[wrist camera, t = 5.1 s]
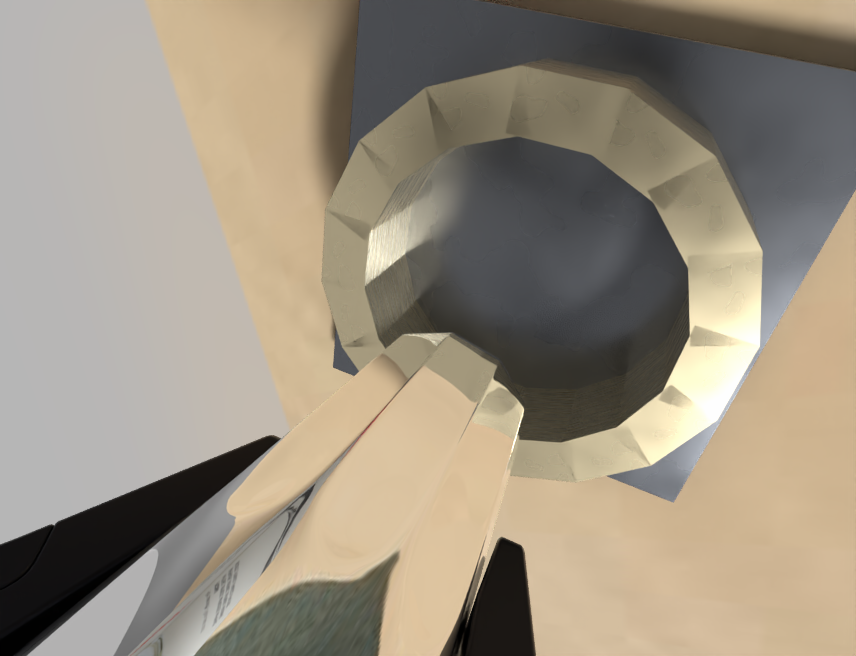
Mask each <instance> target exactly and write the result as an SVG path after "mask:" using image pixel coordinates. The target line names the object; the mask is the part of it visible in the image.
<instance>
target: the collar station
mask: <svg viewBox="0 0 856 656" xmlns="http://www.w3.org/2000/svg"><path fill="white" fill-rule="evenodd" d="M855 190H856V71H855V70H849V69H844V68H839V67H833V66H828V65H823V64H818V63H812V62H807V61H802V60H796V59H791V58H786V57H780V56H775V55H770V54H765V53H759V52H754V51H749V50H743V49H738V48H733V47H727V46H722V45H717V44H711V43H706V42H701V41H696V40H690V39H685V38H680V37H674V36H669V35H664V34H658V33H653V32H648V31H643V30H637V29H632V28H627V27H621V26H616V25H611V24H605V23H600V22H595V21H590V20H584V19H579V18H574V17H568V16H563V15H558V14H552V13H547V12H542V11H537V10H531V9H526V8H521V7H515V6H510V5H505V4H499V3H494V2H489V1H483V0H360V7H359V20H358V34H357V48H356V61H355V75H354V89H353V102H352V116H351V130H350V143H349V157H348V164H347V166H346V168H345V170H344V172H343V174H342V176H341V179H340V181H339V183H338V185H337V187H336V189H335V191H334V193H333V195H332V197H331V199H330V201H329V203H328V205H327V207H326V209H325V226H324V245H323V264H322V284H323V287H324V290H325V293H326V297H327V300H328V303H329V306H330V310H331V313H332V316H333V319H334V322H335V326H336V335H335V349H334V362H333V368H336V369H338V370H341V371H343V372H346V373H348V374H351V375H353V376H355V375H356V374H357V373H358V372H359V371H361V370H362V369H363V368H364V367H365V366H366V365H368V364H369V363H370V362H371V361H372V360H373V359H374V358H376V357H377V356H378V355H379V354H380V353H381V352H383V351H384V350H385V349H386V348H387V347H388V346H390V345H391V344H392V343H393V342H394V341H395V340H397V339H398V338H399V337H400V336H402V335H403V334H407V333H439V332H454V333H456V334H457V335H459V336H461V337H462V338H464V339H466V340H468V341H469V342H471V343H473V344H474V345H476V346H478V347H480V348H481V349H483V350H485V351H487V352H488V353H490V354H492V355H494V356H495V357H497V358H499V359H500V360H501V361H502V363H503V365H504V367H505V369H506V371H507V372H508V374H509V376H510V378H511V380H512V381H513V383H514V385H515V387H516V389H517V390H518V392H519V394H520V396H521V398H522V399H523V401H524V403H525V410H524V415H523V420H522V425H521V430H520V436H519V441H518V447H517V451H516V455H515V459H514V462H513V466H512V469H511V472H510V476H518V477H528V478H537V479H547V480H556V481H566V482H581V481H585V480H590V479H594V478H599V477H603V476H608V477H610V478H613V479H615V480H618V481H620V482H623V483H625V484H628V485H630V486H633V487H635V488H638V489H640V490H643V491H646V492H648V493H651V494H653V495H656V496H658V497H661V498H663V499H666V500H668V501H671V502H673V503H674V501H675V499H676V497H677V496H678V494H679V492H680V491H681V489H682V487H683V485H684V484H685V482H686V480H687V479H688V477H689V475H690V473H691V472H692V470H693V468H694V466H695V465H696V463H697V461H698V460H699V458H700V456H701V454H702V453H703V451H704V449H705V448H706V446H707V444H708V442H709V441H710V439H711V437H712V436H713V434H714V432H715V430H716V429H717V427H718V425H719V424H720V422H721V420H722V418H723V417H724V415H725V413H726V411H727V410H728V408H729V406H730V405H731V403H732V401H733V399H734V398H735V396H736V394H737V393H738V391H739V389H740V387H741V386H742V384H743V382H744V381H745V379H746V377H747V375H748V374H749V372H750V370H751V369H752V367H753V365H754V363H755V362H756V360H757V358H758V357H759V355H760V353H761V351H762V350H763V348H764V346H765V344H766V343H767V341H768V339H769V338H770V336H771V334H772V332H773V331H774V329H775V327H776V326H777V324H778V322H779V320H780V319H781V317H782V315H783V314H784V312H785V310H786V308H787V307H788V305H789V303H790V302H791V300H792V298H793V296H794V295H795V293H796V291H797V289H798V288H799V286H800V284H801V283H802V281H803V279H804V277H805V276H806V274H807V272H808V271H809V269H810V267H811V265H812V264H813V262H814V260H815V259H816V257H817V255H818V253H819V252H820V250H821V248H822V247H823V245H824V243H825V241H826V240H827V238H828V236H829V235H830V233H831V231H832V229H833V228H834V226H835V224H836V222H837V221H838V219H839V217H840V216H841V214H842V212H843V210H844V209H845V207H846V205H847V204H848V202H849V200H850V198H851V197H852V195H853V193H854V192H855Z"/></svg>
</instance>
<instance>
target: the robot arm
mask: <svg viewBox="0 0 856 656" xmlns="http://www.w3.org/2000/svg"><path fill="white" fill-rule="evenodd" d="M280 439H281V438H279V437H277V436H274V435H270V436H266V437H263V438H261V439H258V440H256V441H254V442H251V443H249V444H246V445H244V446H241V447H239V448H237V449H234V450H232V451H229V452H227V453H224V454H222V455H220V456H217V457H214V458H212V459H210V460H207V461H205V462H202V463H200V464H197V465H195V466H192V467H190V468H188V469H185V470H183V471H180V472H178V473H175V474H173V475H170V476H168V477H166V478H163V479H161V480H158V481H156V482H153V483H151V484H149V485H146V486H144V487H141V488H139V489H137V490H134V491H131V492H129V493H127V494H124V495H122V496H119V497H117V498H114V499H112V500H109V501H107V502H105V503H102V504H100V505H97V506H95V507H92V508H90V509H87V510H85V511H83V512H80V513H78V514H75V515H73V516H70V517H68V518H65V519H63V520H61V521H58V522H57V523H56V524H55V525H52V524H51V525H48V526H45V527H43V528H41V529H38V530H36V531H33V532H31V533H28V534H26V535H23V536H21V537H18V538H16V539H13V540H11V541H8V542H5V543H3V544H0V656H10V655H11V654H13V653H14V652H15V651H16V650H18V649H19V648H20V647H21V646H23V645H24V644H25V643H26V642H28V641H29V640H30V639H31V638H33V637H34V636H35V635H36V634H38V633H39V632H40V631H41V630H43V629H44V628H45V627H46V626H48V625H49V624H50V623H51V622H53V621H54V620H55V619H56V618H58V617H59V616H60V615H61V614H63V613H64V612H65V611H66V610H68V609H69V608H70V607H71V606H73V605H74V604H75V603H76V602H78V601H79V600H80V599H81V598H83V597H84V596H85V595H86V594H88V593H89V592H90V591H91V590H93V589H94V588H95V587H96V586H98V585H99V584H100V583H101V582H103V581H104V580H105V579H106V578H108V577H109V576H110V575H111V574H113V573H114V572H115V571H116V570H118V569H119V568H120V567H122V566H123V565H124V564H125V563H127V562H128V561H129V560H130V559H132V558H133V557H134V556H135V555H137V554H138V553H139V552H140V551H142V550H143V549H144V548H145V547H147V546H148V545H149V544H151V543H152V542H153V541H154V540H156V539H157V538H158V537H159V536H161V535H162V534H163V533H165V532H166V531H167V530H168V529H170V528H171V527H172V526H174V525H175V524H176V523H178V522H179V521H180V520H182V519H183V518H184V517H186V516H187V515H188V514H190V513H191V512H192V511H194V510H195V509H196V508H197V507H199V506H200V505H201V504H203V503H204V502H205V501H207V500H208V499H209V498H210V497H212V496H213V495H214V494H216V493H217V492H218V491H219V490H221V489H222V488H223V487H224V486H226V485H227V484H228V483H229V482H230V481H232V480H233V479H234V478H235V477H236V476H238V475H239V474H240V473H241V472H242V471H244V470H245V469H246V468H247V467H248V466H250V465H251V464H252V463H253V462H254V461H255V460H257V459H258V458H259V457H260V456H261V455H263V454H264V453H265V452H266V451H267V450H268V449H270V448H271V447H272V446H273V445H274V444H275V443H277V442H278V441H279V440H280ZM458 656H536V651H535V642H534V633H533V624H532V615H531V606H530V597H529V588H528V579H527V570H526V561H525V552H524V549H523V547H522V546H521V545H519V544H517V543H515V542H513V541H510V540H508V539H506V538H503V537H501V538H499V539H498V540H497V543H496V546H495V548H494V551H493V553H492V556H491V559H490V561H489V564H488V567H487V569H486V572H485V575H484V577H483V580H482V583H481V585H480V588H479V590H478V593H477V596H476V599H475V602H474V605H473V608H472V611H471V614H470V616H469V619H468V622H467V625H466V628H465V632H464V635H463V639H462V642H461V646H460V649H459V653H458Z"/></svg>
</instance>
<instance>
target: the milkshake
mask: <svg viewBox="0 0 856 656" xmlns="http://www.w3.org/2000/svg"><path fill="white" fill-rule="evenodd" d="M524 410H525V403H524V401H523V399H522V398H521V396H520V394H519V392H518V390H517V389H516V387H515V385H514V383H513V381H512V380H511V378H510V376H509V374H508V372H507V371H506V369H505V367H504V365H503V363H502V361H501V360H500V359H499V358H497V357H495V356H494V355H492V354H490V353H488V352H487V351H485V350H483V349H481V348H480V347H478V346H476V345H474V344H473V343H471V342H469V341H468V340H466V339H464V338H462V337H461V336H459V335H457V334H456V333H454V332H439V333H407V334H403V335H402V336H400V337H399V338H398V339H397V340H395V341H394V342H393V343H392V344H391V345H390V346H388V347H387V348H386V349H385V350H384V351H383V352H381V353H380V354H379V355H378V356H377V357H376V358H374V359H373V360H372V361H371V362H370V363H369V364H368V365H366V366H365V367H364V368H363V369H362V370H361V371H359V372H358V373H357V374H356V375H355V376H354V377H352V378H351V379H350V380H349V381H348V382H347V383H345V384H344V385H343V386H342V387H341V388H340V389H338V390H337V391H336V392H335V393H334V394H333V395H331V396H330V397H329V398H328V399H327V400H326V401H324V402H323V403H322V404H321V405H320V406H319V407H317V408H316V409H315V410H314V411H313V412H312V413H310V414H309V415H308V416H307V417H306V418H305V419H303V420H302V421H301V422H300V423H299V424H298V425H296V426H295V427H294V428H293V429H292V430H291V431H289V432H288V433H287V434H286V435H285V436H284V437H283V438H281V439H280V440H279V441H278V442H277V443H275V444H274V445H273V446H272V447H271V448H270V449H268V450H267V451H266V452H265V453H264V454H263V455H261V456H260V457H259V458H258V459H257V460H255V461H254V462H253V463H252V464H251V465H250V466H248V467H247V468H246V469H245V470H244V471H242V472H241V473H240V474H239V475H238V476H236V477H235V478H234V479H233V480H232V481H230V482H229V483H228V484H227V485H226V486H224V487H223V488H222V489H221V490H219V491H218V492H217V493H216V494H214V495H213V496H212V497H210V498H209V499H208V500H207V501H205V502H204V503H203V504H201V505H200V506H199V507H197V508H196V509H195V510H194V511H192V512H191V513H190V514H188V515H187V516H186V517H184V518H183V519H182V520H180V521H179V522H178V523H176V524H175V525H174V526H172V527H171V528H170V529H168V530H167V531H166V532H165V533H163V534H162V535H161V536H159V537H158V538H157V539H156V540H154V541H153V542H152V543H151V544H149V545H148V546H147V547H145V548H144V549H143V550H142V551H140V552H139V553H138V554H137V555H135V556H134V557H133V558H132V559H130V560H129V561H128V562H127V563H125V564H124V565H123V566H122V567H120V568H119V569H118V570H116V571H115V572H114V573H113V574H111V575H110V576H109V577H108V578H106V579H105V580H104V581H103V582H101V583H100V584H99V585H98V586H96V587H95V588H94V589H93V590H91V591H90V592H89V593H88V594H86V595H85V596H84V597H83V598H81V599H80V600H79V601H78V602H76V603H75V604H74V605H73V606H71V607H70V608H69V609H68V610H66V611H65V612H64V613H63V614H61V615H60V616H59V617H58V618H56V619H55V620H54V621H53V622H51V623H50V624H49V625H48V626H46V627H45V628H44V629H43V630H41V631H40V632H39V633H38V634H36V635H35V636H34V637H33V638H31V639H30V640H29V641H28V642H26V643H25V644H24V645H23V646H21V647H20V648H19V649H18V650H16V651H15V652H14V653H13V654H11V655H10V656H458V653H459V649H460V646H461V642H462V639H463V635H464V632H465V628H466V625H467V621H468V618H469V614H470V611H471V607H472V604H473V600H474V597H475V594H476V590H477V587H478V583H479V580H480V576H481V573H482V569H483V566H484V562H485V559H486V555H487V552H488V548H489V545H490V542H491V538H492V535H493V531H494V528H495V524H496V521H497V517H498V514H499V510H500V507H501V504H502V500H503V497H504V493H505V490H506V486H507V483H508V479H509V476H510V472H511V469H512V466H513V462H514V459H515V455H516V451H517V447H518V441H519V436H520V430H521V425H522V420H523V415H524Z"/></svg>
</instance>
